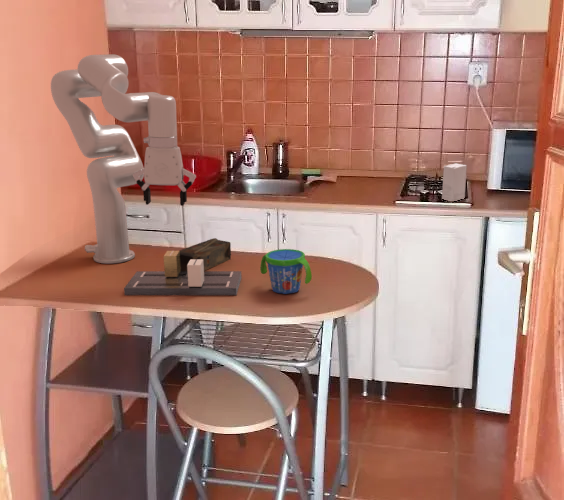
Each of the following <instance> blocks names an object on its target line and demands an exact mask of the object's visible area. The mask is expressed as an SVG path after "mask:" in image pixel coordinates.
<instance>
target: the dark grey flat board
mask: <svg viewBox="0 0 564 500" xmlns="http://www.w3.org/2000/svg"><path fill="white" fill-rule="evenodd" d="M241 281H242V271H239V270H237V271H234V270H231V271H228V270H224V271H217V270H216V271H215V270H214V271H213V270H212V271H209V270H205V271H204V282H203V284H202V287H188V271H180V273H179V275H178V277H165V270H164V271H161V270H160V271H156V270H155V271H152V270H151V271H147V270H146V271H145V270H143V271H136V272H135V273H134V274H133V276H132V277H131V278H130V280H128V282H127V284H125V286H124V288H123V293H124V296H237V294H238V291H239V288H240V284H241Z"/></svg>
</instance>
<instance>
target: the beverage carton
mask: <svg viewBox="0 0 564 500" xmlns="http://www.w3.org/2000/svg"><path fill="white" fill-rule="evenodd" d="M231 243H232V242H230V241H227V240H221V239H218V238H215V237H214V238H210V239H207V240H204V241H201V242H199V243H196V244H193V245H190V246H187V247H185V248H182V249H180V250H178V251H180V267H181V271H187V265H188V263H189V261H190V259H203V264H204V271H209V270H210V269H211V268H215V267H217V266H219V265H221V264H224V263H225V262H229V261H230V260H231V256H232V252H231V250H232V249H231V245H232V244H231Z"/></svg>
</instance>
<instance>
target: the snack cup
mask: <svg viewBox="0 0 564 500" xmlns="http://www.w3.org/2000/svg"><path fill="white" fill-rule="evenodd" d="M303 266H304V267H303ZM303 268H304V270H305V279H304V284H306V285H307V284H309V283H310V282H311V280H312V276H313V275H312V270H311V266H310V263H309V262H308V260H307V258H306V253H304V252H303V251H302V250H299V249H291V248H283V249H281V248H280V249H274V250H271V251H268V252H267V253H266V254H264V255H263V256H262V258H261V261H260V274H262V275H265V274H267V273H268V275H269V280H270V285H271V289H272V291H273V292H274V293H277V294H284V295H288V294H294V293H298V292H299V290H300V288H301V282H302V275H303Z"/></svg>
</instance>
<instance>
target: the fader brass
mask: <svg viewBox="0 0 564 500" xmlns="http://www.w3.org/2000/svg"><path fill="white" fill-rule="evenodd" d="M163 269H164V271H165V277H178V275H179V273H180V271H181V267H180V251H179V250H166V252H165V253H164V255H163Z"/></svg>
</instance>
